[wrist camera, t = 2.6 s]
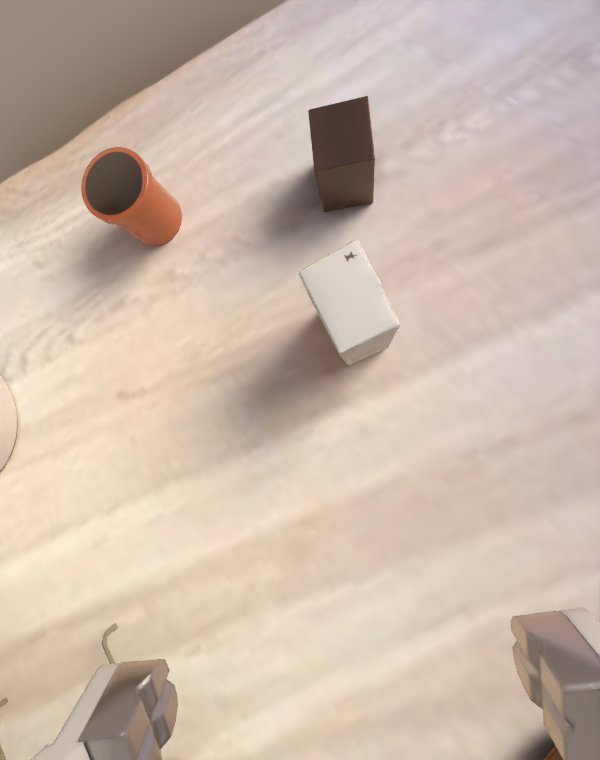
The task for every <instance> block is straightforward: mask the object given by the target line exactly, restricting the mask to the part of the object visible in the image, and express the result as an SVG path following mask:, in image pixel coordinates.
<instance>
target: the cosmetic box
mask: <svg viewBox="0 0 600 760" xmlns="http://www.w3.org/2000/svg"><path fill="white" fill-rule="evenodd" d="M299 275H300V277H301V279H302V281H303V284H304V286H305V288H306V290H307V292H308V295H309V297H310V299H311V301H312V303H313V305H314V307H315V308H316V310H317V313H318V314H319V316H320V318H321V320H322V322H323V324H324V326H325V328H326V330H327V332H328V334H329V336H330V338H331V340H332V342H333V344H334V346H335V348H336V350H337V352H338V354H339V355H340V356H341V357H342V359H343V360H344V361H345V363H346V364H347V365H348V366H350V365H352V364H354V363H356V362H358V361H360V360H362V359H364V358H367V357H369V356H371V355H373V354H375V353H377V352H380V351H382V350H384V349H386V348H388V347H389V345H390V343H391V341H392V339H393V337H394V335H395V333H396V332H397V330H398V328H399V327H400V322H399V320H398V318H397V316H396V314H395V312H394V310H393V308H392V306H391V304H390V302H389V300H388V298H387V296H386V294H385V292H384V290H383V287H382V285H381V283H380V280H379V279H378V277H377V275H376V274H375V272H374V270H373V268H372V266H371V264H370V262H369V260H368V258H367V256H366V254H365V252H364V250H363V249H362V247H361V245H360V243H359V241H358V240H354V241H352V242H350V243H348V244H347V245H345V246H343V247H342V248H340V249H338V250H336V251H335V252H333V253H331V254H329V255H328V256H326V257H324V258H322V259H321V260H319V261H317V262H315V263H313V264H312V265H310V266H308V267H306V268H305V269H303V270H301V271H299Z"/></svg>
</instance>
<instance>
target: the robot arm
mask: <svg viewBox="0 0 600 760" xmlns="http://www.w3.org/2000/svg"><path fill="white" fill-rule="evenodd" d="M16 435H17V410H16V405H15V401H14V398H13V395H12V392H11V390H10V388H9V386H8V385H7V383H6V381H5V380H4V379H3V377H2V376H1V375H0V471H1V469H2V468H3V467H4V465H5V464H6V462H7V461H8V459H9V457H10V455H11V452H12V450H13V447H14V444H15V440H16ZM511 631H512V633H513V634H514V636H515V638H516V639H517V641H516V643H515V644H514V645H513V656H514V662H515V665H516V668H517V672H518V675H519V677H520V680H521V682H522V684H523V686H524V688H525V690H526V692H527V694H528V696H529V698H530V700H531V701H533V702H534V703H535V704H536V705H538V706H539V707H540V708H542V709H543V719H544V726H545V727H546V729H547V731H548V733H549V735H550V737H551V738H552V740H553V742H554V744H555V746H556V748H557V749H558V751H559V753H560V755H561V757H562V758H563V760H600V623H599V622H598V621H597V620H596V619H595V618H594V617H593V616H592V615H591V613H590V612H589V611H587V610H586V609H584V608H577V609H569V610H561V611H550V612H543V613H535V614H528V615H520V616H513V617H512V619H511ZM168 673H169V668H168V665H167V663H166V660H165V659H157V660H146V661H134V662H123V663H115V664H105V665H102V666H101V667H100V668H99V669H98V670H96V672H95V673H94V675H93V677H92V678H91V680H90V682H89V684H88V685H87V687H86V689H85V690H84V692H83V694H82V695H81V697H80V699H79V701H78V702H77V704H76V706H75V707H74V709H73V711H72V713H71V714H70V716H69V718H68V719H67V721H66V723H65V724H64V726H63V728H62V730H61V731H60V733H59V735H58V736H57V738H56V740H55V742H54V743H53V745H46V746H45V747H44V748H43V749H42V750H41V751H40V752H39V753H38V754H37V755H35V756H34V757H33V758H32V759H31V760H162V755H161V751H160V749H161V748H162V747H163V746H164V745H165V743H166V742H167V741H168V740H169V738H170V737H171V735H172V731H173V728H174V725H175V722H176V714H177V706H178V703H177V693H176V689H175V686H174V685H173V684H172V683H171V682H170V681H168V680H167V679H166V678H167V675H168Z"/></svg>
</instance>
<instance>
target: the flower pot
mask: <svg viewBox="0 0 600 760" xmlns="http://www.w3.org/2000/svg"><path fill="white" fill-rule="evenodd" d="M82 197H83V200H84V203H85V205H86V206H87V208H88V209H89V211H90V212H91V213H92V214H93V215H95V216H96V217H98V218H99V219H101V220H102V221H104V222H106V223H109V224H116V225H118V226H119V227H121V228H122V229H124V230H125V231H126V232H128V233H129V234H131V235H132V236H134V237H135V238H137V239H138V240H140V241H141V242H143V243H145V244H147V245H151V246H158V245H162V244H165V243H167V242H168V241H170V240H171V239H172V238H173V237H174V236H175V235H176V233H177V232H178V230H179V228H180V225H181V219H182V214H181V209H180V206H179V204H178V202H177V201H176V200H175V198H174V197H173V196H172V195H171V194H170V193H169V192H168V191H167V190H166V189H165V188H164V187H163V186H162V185H161V184H160V183H159V182H158V181H157V180H156V179H155V178H154V177H153V176H152V173H151V171H150V168H149V167H148V165H147V164H146V163H145V161H144V160H143V159H142V158H141V157H140V156H139V155H138V154H137V153H135V152H134V151H132V150H130V149H127V148H122V147H115V148H110V149H107V150H105V151H103V152H101V153H100V154H98V155H97V156H96V157H95V158H94V159H93V160H92V161H91V162H90V164H89V165H88V167H87V169H86V171H85V173H84V176H83V180H82Z"/></svg>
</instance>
